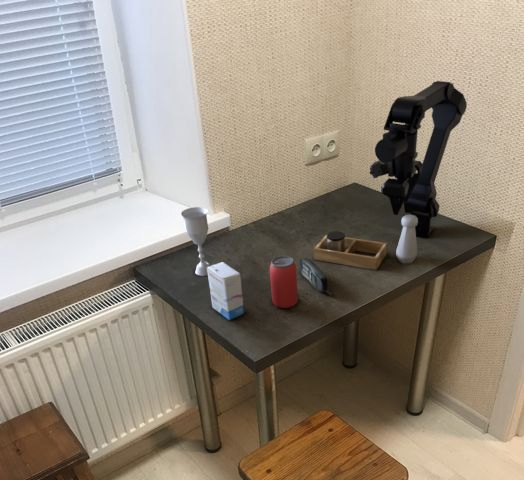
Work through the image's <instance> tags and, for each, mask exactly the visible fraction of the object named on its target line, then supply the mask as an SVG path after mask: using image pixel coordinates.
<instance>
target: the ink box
mask: <svg viewBox="0 0 524 480" xmlns="http://www.w3.org/2000/svg"><path fill="white" fill-rule="evenodd" d="M207 272H208V275H207V278H208V286H209V291H210V292H209V293H210V299H211V307H212V309H214V310H215V311H216V312H218V313H219V314H220V315H222V316H223V317H225V319H226V320H228V321H231V320H234V319H235V318H237V317H239V316H242V315H244V314H245V307H244V299H243V298H244V297H243V288H242V279H241V273H240V272H238V271H237V270H236V269H234V268H232V267H231V266H229V265H228V264H226V263H225V262H223V261H221V262H218V263H216V264H212V265H210V266H209V267H208V268H207Z"/></svg>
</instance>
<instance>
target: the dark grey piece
mask: <svg viewBox="0 0 524 480" xmlns="http://www.w3.org/2000/svg"><path fill="white" fill-rule="evenodd" d="M299 271H300V274H301V275H302V276H303V277H304V278H305V279H306V280H307V281H308V282H309V283H310V284H311V285H312V287H313V288H314V289H315V290H317V291H319V292H321V293H324V292H325V293H327V294H328V295H329V296H332V292H331V291H330V290H329V279H328V276H327V275H326V274H325V273H324V271H323V270H322V269H321V268H320V267H319V266H318V265H317V264H316V263H315V262H314V261H313V260H311V259H310V258H307V257H302V258H300V259H299Z"/></svg>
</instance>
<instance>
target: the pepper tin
mask: <svg viewBox="0 0 524 480" xmlns="http://www.w3.org/2000/svg"><path fill="white" fill-rule="evenodd" d="M345 237H346V233H344V232H343V231H340V230H334V231H330V232H328V233H327V248H326V250H333V251H339V252H345V251H346V249H345Z"/></svg>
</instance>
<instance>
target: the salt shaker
mask: <svg viewBox="0 0 524 480" xmlns="http://www.w3.org/2000/svg"><path fill="white" fill-rule="evenodd" d="M417 224H418V218H417V217H416V216H415V215H411V214H405V215H404V216H402V217H401V222H400V225H401V226H402V229H401V233H400V236H399V241H398V243H397V248H396V251H395V256H396V258H397V260H398V261H399V263H402V264H411V263H413V262H414V261H415V260H416V258H417V256H418V245H417V244H418V243H417V236H416V231H415V226H417Z"/></svg>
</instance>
